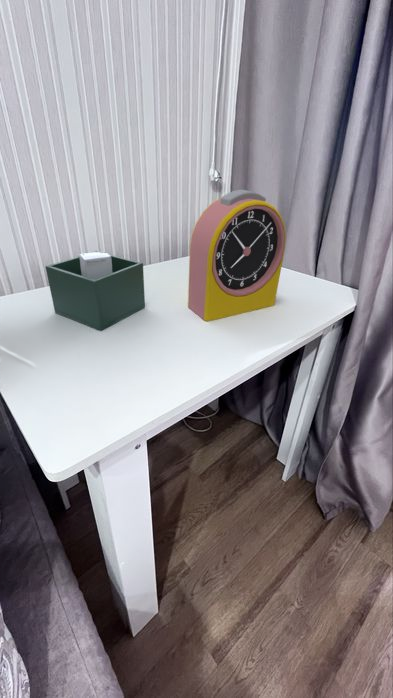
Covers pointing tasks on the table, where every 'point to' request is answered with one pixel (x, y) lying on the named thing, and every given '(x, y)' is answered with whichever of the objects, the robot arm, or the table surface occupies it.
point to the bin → (97, 292)
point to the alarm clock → (235, 256)
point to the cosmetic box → (95, 264)
